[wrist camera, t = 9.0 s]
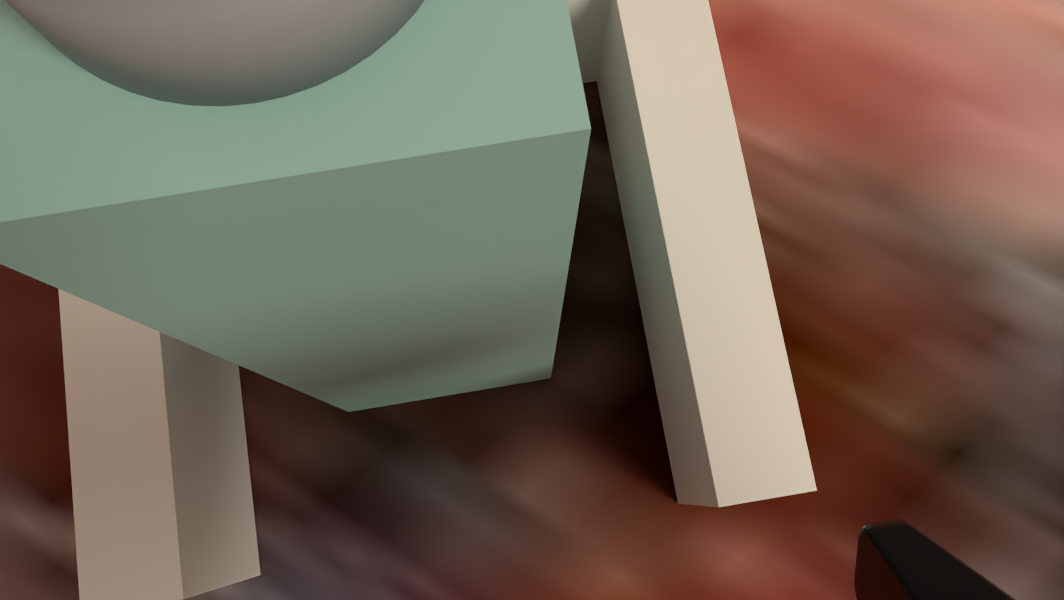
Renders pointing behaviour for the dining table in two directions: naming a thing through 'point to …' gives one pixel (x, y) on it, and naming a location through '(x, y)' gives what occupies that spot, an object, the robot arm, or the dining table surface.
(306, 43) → the post
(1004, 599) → the robot arm
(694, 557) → the dining table surface
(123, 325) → the cradle
